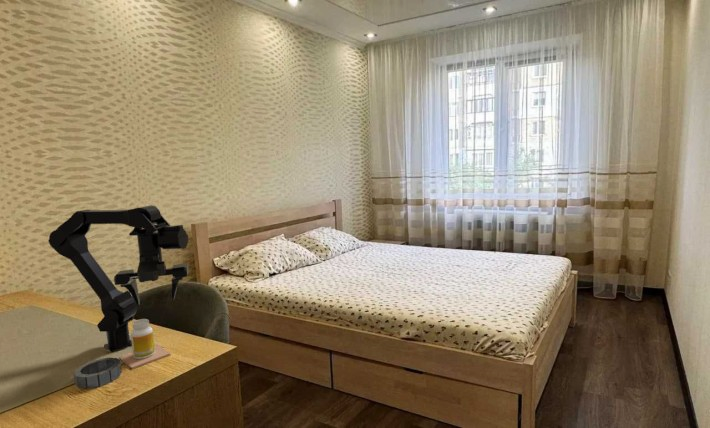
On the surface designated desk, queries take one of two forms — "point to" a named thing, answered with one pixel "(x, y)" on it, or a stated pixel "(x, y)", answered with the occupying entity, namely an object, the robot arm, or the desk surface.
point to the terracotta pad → (135, 363)
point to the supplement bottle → (142, 339)
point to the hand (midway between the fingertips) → (156, 302)
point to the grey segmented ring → (90, 376)
